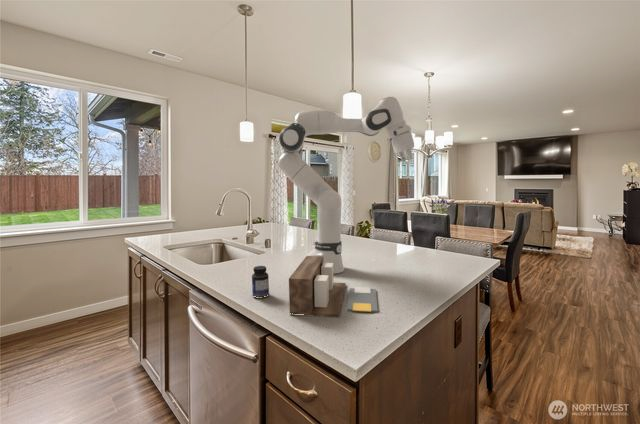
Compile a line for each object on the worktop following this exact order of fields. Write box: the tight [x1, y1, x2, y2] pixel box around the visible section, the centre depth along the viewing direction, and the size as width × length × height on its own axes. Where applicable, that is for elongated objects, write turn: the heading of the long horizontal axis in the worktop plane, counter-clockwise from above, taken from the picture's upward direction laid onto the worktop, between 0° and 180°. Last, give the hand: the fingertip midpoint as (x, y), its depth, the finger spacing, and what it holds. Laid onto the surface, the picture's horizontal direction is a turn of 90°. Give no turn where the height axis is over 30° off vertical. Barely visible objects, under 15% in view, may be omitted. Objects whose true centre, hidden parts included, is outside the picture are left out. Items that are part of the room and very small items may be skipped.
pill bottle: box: [251, 265, 270, 297], centre depth 114 cm, size 6×6×11 cm
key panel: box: [288, 255, 346, 318], centre depth 110 cm, size 16×30×12 cm, turn 171°
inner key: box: [321, 263, 335, 290], centre depth 118 cm, size 4×6×9 cm, turn 172°
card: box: [346, 286, 378, 313], centre depth 109 cm, size 10×22×1 cm, turn 171°
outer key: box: [314, 275, 329, 308], centre depth 102 cm, size 4×6×9 cm, turn 172°
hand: (407, 160), depth 142 cm, fingers open, 8 cm apart
